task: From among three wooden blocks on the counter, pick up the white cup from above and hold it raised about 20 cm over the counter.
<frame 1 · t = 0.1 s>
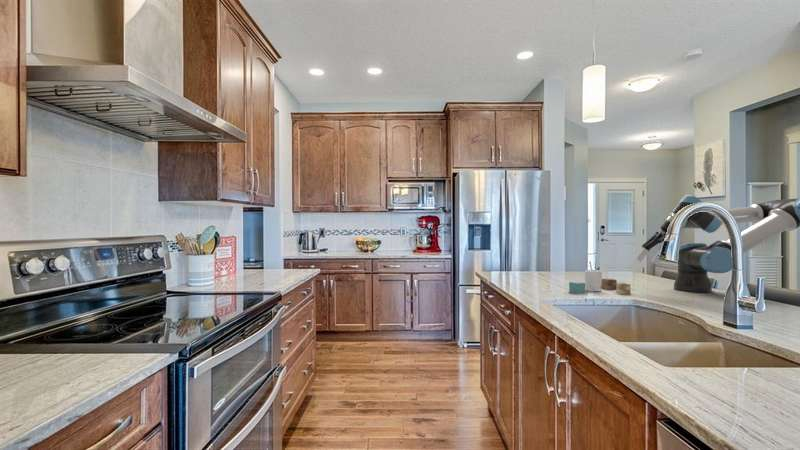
hand: (645, 261, 179), 15 cm above the worktop, tool tilted 35°, fingers open, 13 cm apart
teal painted block: (577, 292, 185), on the worktop
maple block: (623, 293, 182), on the worktop
white cup: (593, 291, 190), on the worktop
walnut block: (608, 289, 195), on the worktop
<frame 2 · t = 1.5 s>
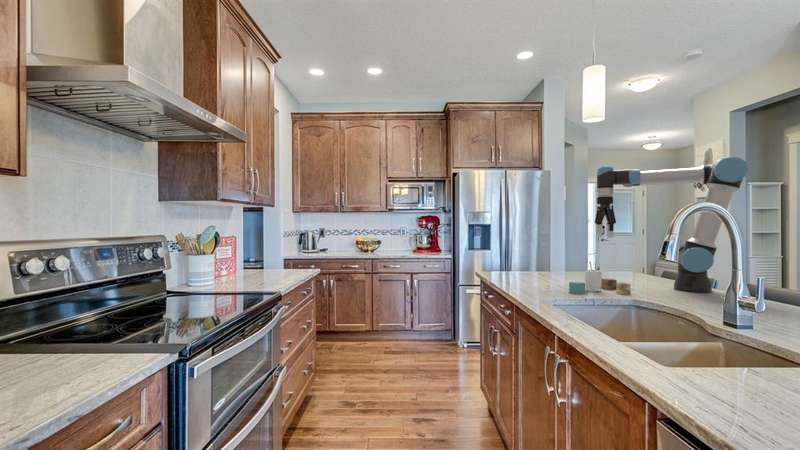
hand: (604, 237, 198), 26 cm above the worktop, tool pointing down, fingers open, 13 cm apart
nothing on the worktop moved.
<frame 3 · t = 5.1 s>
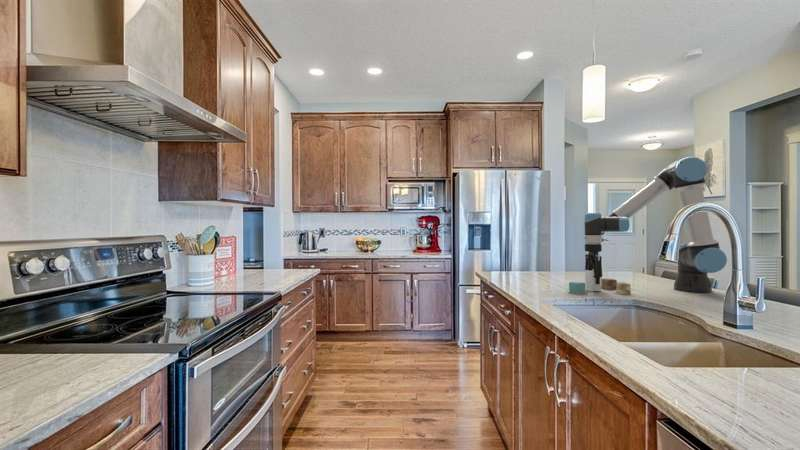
hand: (593, 289, 190), 1 cm above the worktop, tool pointing down, fingers closed on white cup, 7 cm apart
white cup: (593, 291, 190), on the worktop, touching gripper
everything else where it was.
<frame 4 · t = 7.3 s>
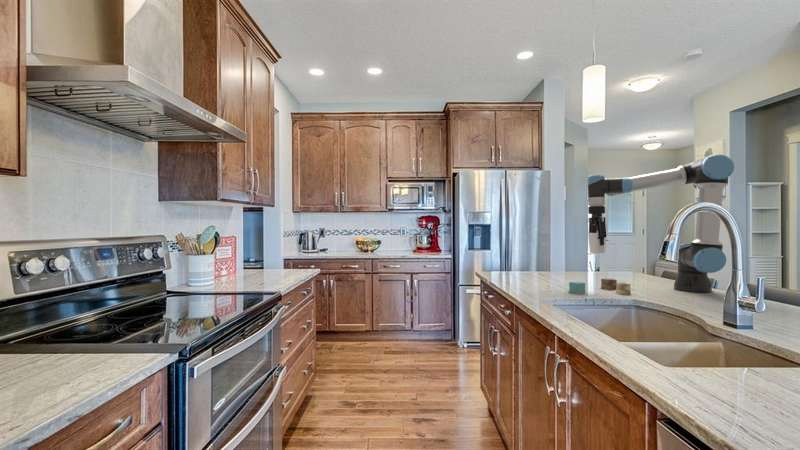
hand: (597, 251, 190), 20 cm above the worktop, tool pointing down, fingers closed on white cup, 7 cm apart
white cup: (597, 253, 190), point 19 cm above the worktop, touching gripper
everything else where it was.
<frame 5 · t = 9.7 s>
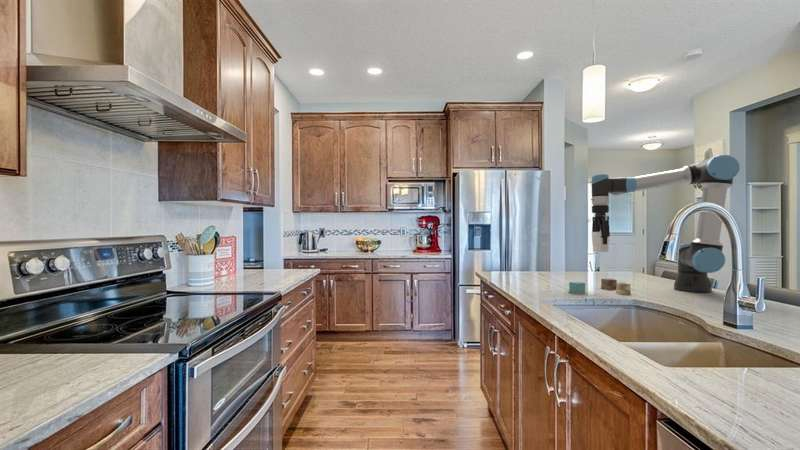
hand: (600, 250, 190), 20 cm above the worktop, tool pointing down, fingers closed on white cup, 7 cm apart
white cup: (600, 252, 190), point 19 cm above the worktop, touching gripper
everything else where it was.
at the end: the gripper is holding white cup; white cup point 19.2 cm above the worktop; walnut block moved 0.1 cm from its start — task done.
